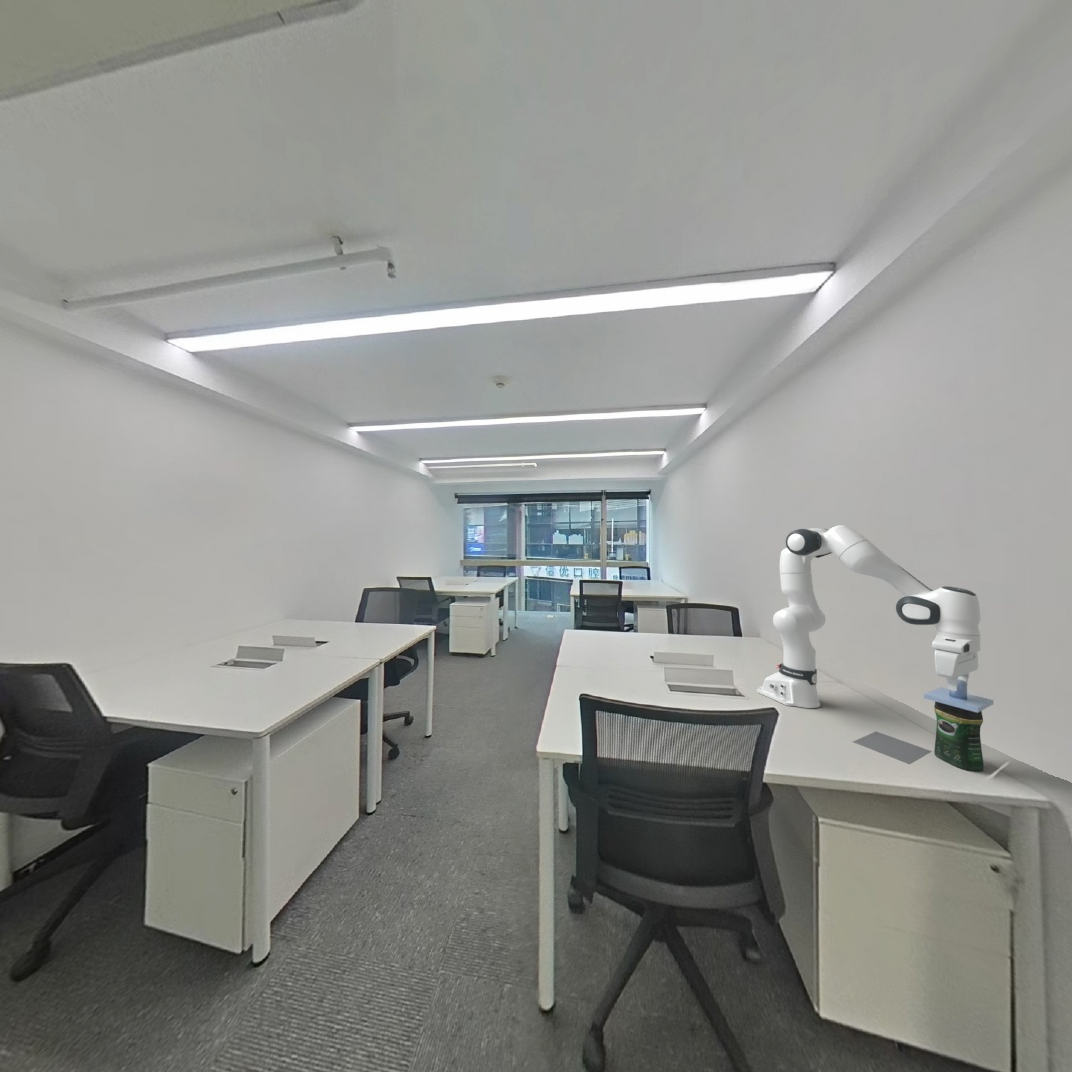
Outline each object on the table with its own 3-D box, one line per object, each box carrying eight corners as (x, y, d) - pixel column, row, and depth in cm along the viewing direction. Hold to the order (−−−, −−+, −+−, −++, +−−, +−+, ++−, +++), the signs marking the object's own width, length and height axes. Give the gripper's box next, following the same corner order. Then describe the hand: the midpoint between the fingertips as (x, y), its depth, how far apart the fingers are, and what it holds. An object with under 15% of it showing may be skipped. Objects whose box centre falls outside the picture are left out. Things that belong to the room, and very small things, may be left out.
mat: (852, 743, 125) (852, 741, 125) (875, 732, 132) (875, 731, 132) (909, 765, 113) (909, 764, 113) (931, 752, 120) (931, 751, 120)
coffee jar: (990, 773, 110) (990, 707, 110) (964, 773, 109) (964, 708, 109) (952, 754, 119) (952, 694, 119) (928, 754, 119) (928, 694, 119)
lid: (923, 698, 116) (923, 679, 116) (941, 691, 122) (941, 672, 122) (977, 712, 107) (977, 691, 107) (993, 704, 113) (993, 684, 113)
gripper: (956, 636, 122) (955, 679, 122) (929, 643, 113) (929, 690, 113) (985, 640, 117) (985, 686, 117) (960, 648, 107) (960, 698, 107)
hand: (957, 688), depth 115 cm, fingers open, 5 cm apart
